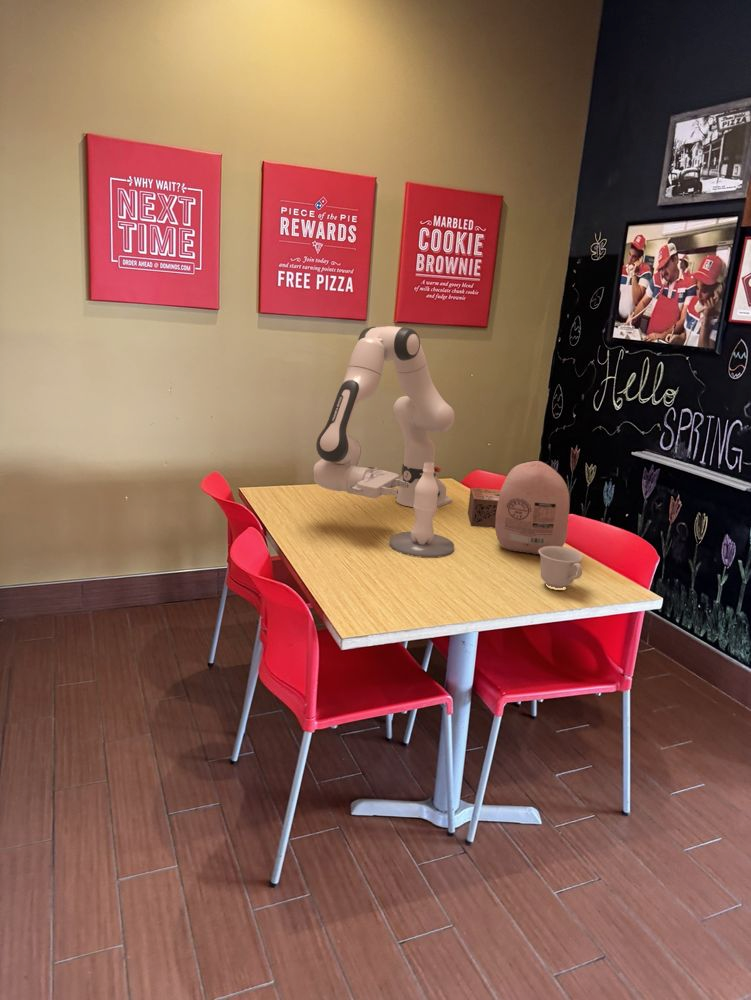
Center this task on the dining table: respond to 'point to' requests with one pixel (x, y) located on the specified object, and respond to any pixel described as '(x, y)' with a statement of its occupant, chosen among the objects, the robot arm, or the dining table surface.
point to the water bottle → (425, 506)
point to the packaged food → (532, 508)
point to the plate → (434, 549)
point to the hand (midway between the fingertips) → (402, 488)
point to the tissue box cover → (483, 507)
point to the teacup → (559, 565)
